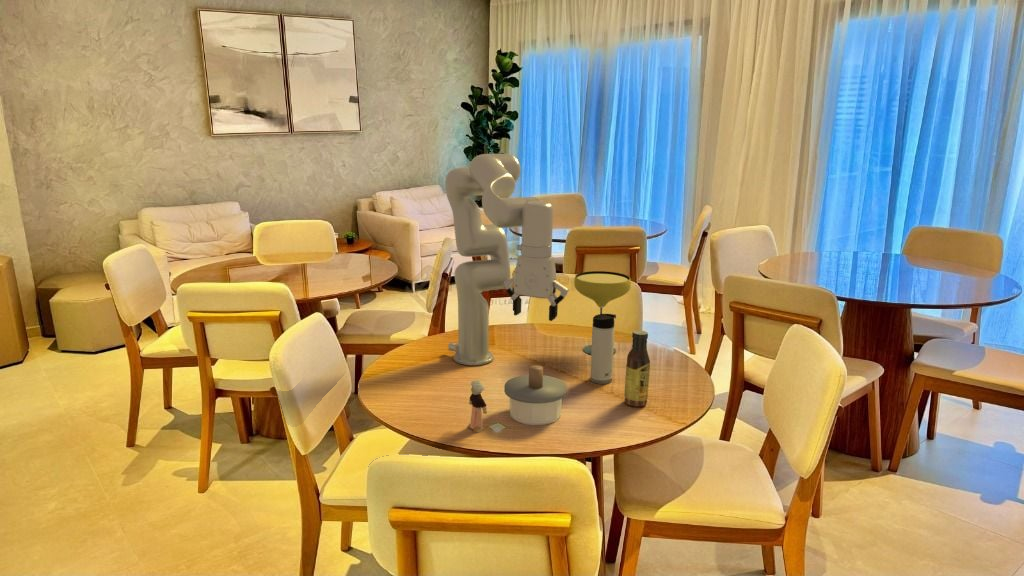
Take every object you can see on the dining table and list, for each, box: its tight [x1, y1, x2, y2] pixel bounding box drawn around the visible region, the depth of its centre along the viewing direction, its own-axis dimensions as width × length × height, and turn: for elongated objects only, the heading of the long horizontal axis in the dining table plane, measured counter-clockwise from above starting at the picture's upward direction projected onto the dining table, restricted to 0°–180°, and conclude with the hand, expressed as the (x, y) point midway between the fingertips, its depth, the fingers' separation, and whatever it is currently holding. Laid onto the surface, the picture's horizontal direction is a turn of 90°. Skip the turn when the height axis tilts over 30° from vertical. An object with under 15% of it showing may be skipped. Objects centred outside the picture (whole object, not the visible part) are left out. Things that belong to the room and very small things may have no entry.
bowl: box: [509, 397, 563, 426], centre depth 171 cm, size 13×13×6 cm
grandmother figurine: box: [467, 379, 488, 433], centre depth 162 cm, size 8×4×13 cm, turn 45°
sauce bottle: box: [624, 330, 651, 408], centre depth 177 cm, size 7×6×20 cm
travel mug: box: [590, 313, 617, 385], centre depth 192 cm, size 6×7×20 cm
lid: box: [503, 364, 568, 403], centre depth 169 cm, size 16×16×6 cm
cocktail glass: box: [573, 270, 632, 356], centre depth 217 cm, size 18×18×25 cm
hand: (534, 316), depth 170 cm, fingers open, 9 cm apart
